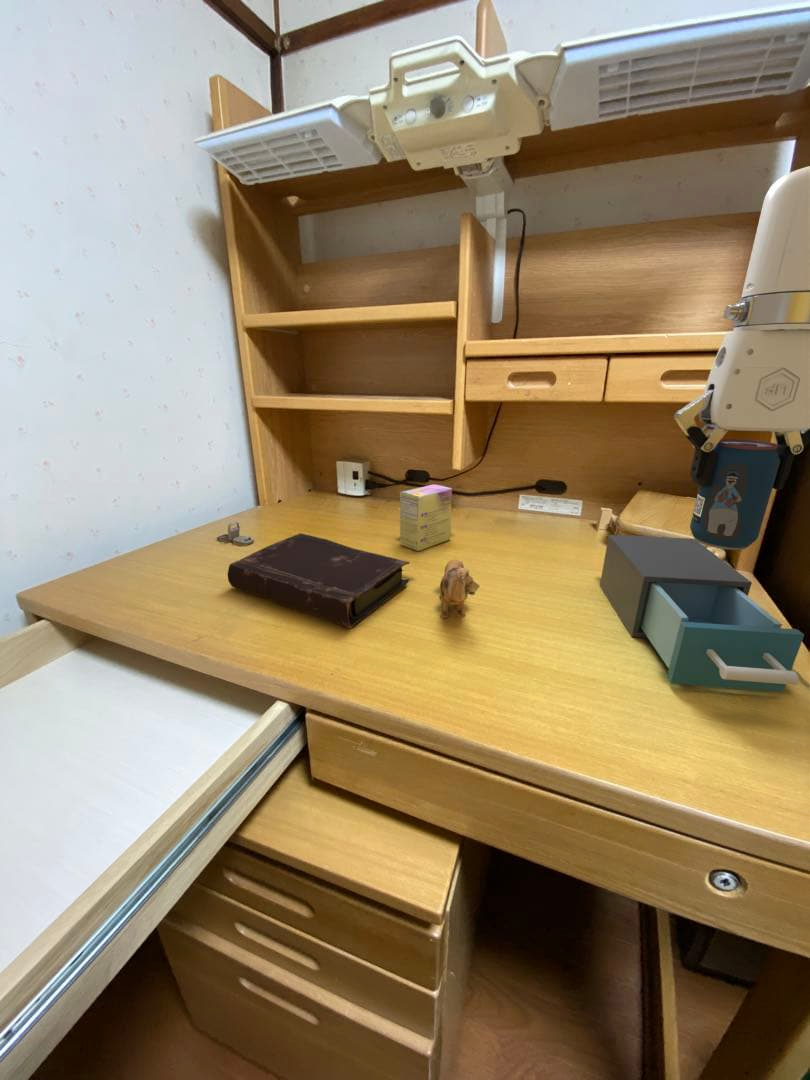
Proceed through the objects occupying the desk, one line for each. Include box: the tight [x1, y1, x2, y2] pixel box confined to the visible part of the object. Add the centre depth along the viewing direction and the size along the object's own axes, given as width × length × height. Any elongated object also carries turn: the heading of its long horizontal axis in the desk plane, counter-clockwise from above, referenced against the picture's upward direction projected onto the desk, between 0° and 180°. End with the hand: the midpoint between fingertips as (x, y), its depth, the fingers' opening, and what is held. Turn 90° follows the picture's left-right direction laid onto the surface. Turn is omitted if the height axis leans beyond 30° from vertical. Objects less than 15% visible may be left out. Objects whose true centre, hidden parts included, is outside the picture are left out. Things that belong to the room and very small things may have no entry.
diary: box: [226, 533, 410, 629], centre depth 79 cm, size 19×25×5 cm
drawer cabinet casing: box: [599, 534, 752, 639], centre depth 71 cm, size 17×14×10 cm
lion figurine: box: [439, 558, 481, 619], centre depth 72 cm, size 15×5×9 cm, turn 3°
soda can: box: [689, 438, 780, 551], centre depth 54 cm, size 7×7×12 cm
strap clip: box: [216, 521, 255, 546], centre depth 99 cm, size 8×3×4 cm, turn 65°
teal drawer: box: [640, 582, 805, 693], centre depth 58 cm, size 20×12×8 cm, turn 173°
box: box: [399, 483, 453, 552], centre depth 98 cm, size 10×6×12 cm, turn 134°
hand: (735, 484), depth 54 cm, fingers closed on soda can, 7 cm apart
